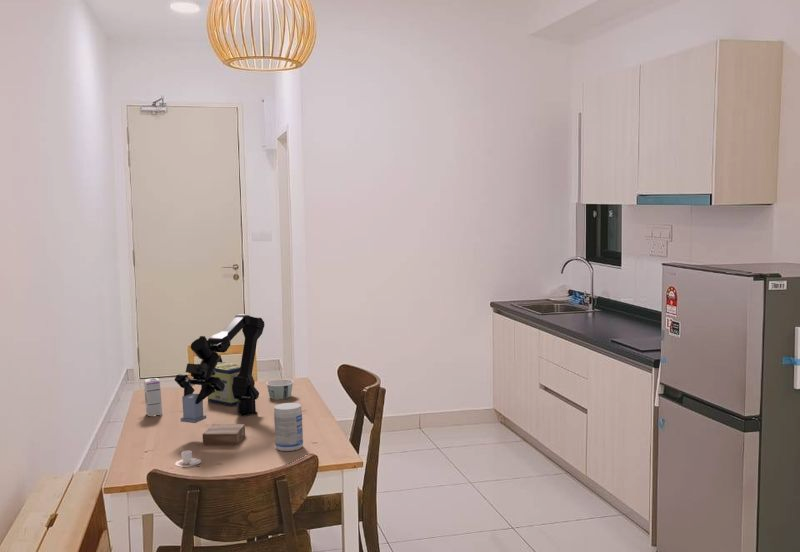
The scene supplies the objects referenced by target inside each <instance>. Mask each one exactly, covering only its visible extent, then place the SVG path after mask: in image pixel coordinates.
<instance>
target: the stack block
mask: <svg viewBox="0 0 800 552" xmlns="http://www.w3.org/2000/svg"><path fill="white" fill-rule="evenodd" d="M245 436H246V424H245V423H229V424H227V423H226V424H225V423H223V424H222V423H221V424H217V423H216V424H213V423H212V424H211V425H210V426H209V427H208V428H207V429H206V430H205V431H204V432H203V433H202V446H238V444H239V443H240V442H241V441H242V440H243V438H244V437H245Z"/></svg>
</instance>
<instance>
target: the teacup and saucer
mask: <svg viewBox="0 0 800 552" xmlns="http://www.w3.org/2000/svg"><path fill="white" fill-rule="evenodd" d="M180 455H181V458H182V459H180V460H177V461H176V462H175V463H174V464H175V466H176V467H179V468H181V467H182V468H189V467H194V466H196V465H199V464H201V462H202V460H201V459H199V458H193V451H192V450H189V449H188V450H183V451H182V452H181V453H180ZM181 462H183V464H184V465H181V464H180V463H181Z"/></svg>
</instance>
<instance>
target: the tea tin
mask: <svg viewBox="0 0 800 552" xmlns="http://www.w3.org/2000/svg"><path fill="white" fill-rule="evenodd" d="M198 395H199V393H194V392H193V393H191V394H188V395H185V396H184V395H183V396H181V398H182V400H181V401H182V414H183V415H182V416H183V417H181V418H180V423H181V422H183V423H190V424H197V423H200V422H201V421H203V420H206V419H207V415H206V414H204V402H203V400H204V399H203V400H202V401H201V402H200V403H199V404H196V400H197V397H198Z"/></svg>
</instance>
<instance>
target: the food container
mask: <svg viewBox="0 0 800 552" xmlns="http://www.w3.org/2000/svg"><path fill="white" fill-rule="evenodd" d="M265 385H266V386H267V392H268V395H269V396H268V397H269V399H270V398H272V399H271V400H274V399H282V400H285V399H284V398H288V397H290V396H292V391H293V385H294V380H292V379H286V378H285V379H283V378H282V379H281V378H280V379H279V378H278V379H273V380H269V381H267V382H266V383H265ZM290 398H291V397H290ZM288 399H289V398H288Z"/></svg>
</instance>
